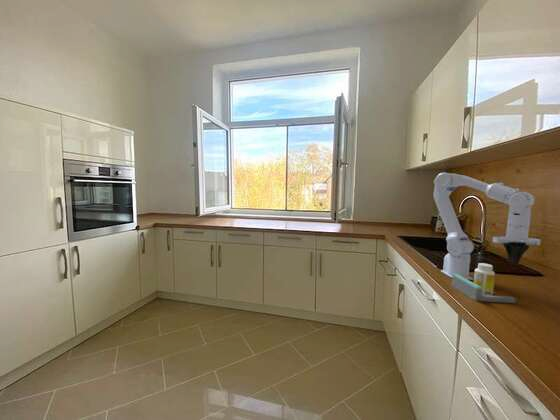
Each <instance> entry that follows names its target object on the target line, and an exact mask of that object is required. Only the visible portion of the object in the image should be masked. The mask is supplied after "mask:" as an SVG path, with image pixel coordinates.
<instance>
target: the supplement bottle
mask: <svg viewBox="0 0 560 420" xmlns="http://www.w3.org/2000/svg"><path fill="white" fill-rule="evenodd" d="M493 269H494V267H493V265H492V264H489V263H484V262H482V263H481V262H479V263H477V268H475V269H474V274H473V275H474V276H473V283H475V284H476V285H478V286H480V287H482V288H481V295H492V296H493V294H494V288H495V287H494V286H495V280H496V279H495V278H496V277H495V276H496V273H495V271H494V270H493Z"/></svg>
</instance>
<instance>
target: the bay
mask: <svg viewBox="0 0 560 420" xmlns="http://www.w3.org/2000/svg"><path fill="white" fill-rule="evenodd" d="M451 287H453V288H454V289H456V290H458V291H459V292H461V293H463V294H464V295H465V296H467V297H469V298H470V299H472V300H474V301H475V302H491V303H507V304H515V303H516V297H513V296H505V295H493V294H492V295H481V288H482V287H480V286H478V285H476V284H475V283H474V281H472V280H467V279H465V278H463V277H462V276H460V275H458V274H453V275H452V278H451Z"/></svg>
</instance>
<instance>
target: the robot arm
mask: <svg viewBox="0 0 560 420" xmlns="http://www.w3.org/2000/svg"><path fill="white" fill-rule="evenodd" d="M433 184H434V188H433V195H432V197H433V199H434V201H435V206H436V207H437V209H438V210H437V211H438V212H439V215H440V218H441V220H442V222H443V225H444V228H445V230H446V233H447V236H446V238H445V241H446V250H447V252H448V253H447V254H446V255H444V257H443V267H442V270H440V272H441V273H443V274H444V275H446V276H447V277H449V278H451V279H452V275H453V274H458V275H460V276H462V277H463V278H465V279H467V280H469V281H474V277H472V276H470V275H469V274H470V273H469V271H470V264H471V253H472V252H473V251H474V249H475V245H474V242H472V241H471V240H470V239H469V237H468V235H467V234H466V233H465V232H464V231H463V229H462V227H461V224H460V222H459V219H458V217H457V214H456V212H455V209H454V207H453V204H452V201H451V199H450V195H451V194H452V192H454V191H455V190H456V189H457V188H458V187H463V186H465V187H468V188H471V189H474V190H476V191H477V190H478V191H480V192H483V193H484V194H485V195H486V197H487V198H490V199H492V200H495V201H498V202H501V203H503V204H505V205H508V206H509V207H508V208H509V211H508V213H507V214H508V215H507V225H506V232H505V233H506V235H505V236H492V243H496V244H502V246H503V247H504V249H505V251H506V253H507V257H508V262H509V264H513V265H519V263H520V261H521V259H522V256H523V255H524V254H525V253H526V251H528V250H529V249H530V245H535V246H540V245H541V241H542V239H539V238H532V237H531V238H530V237H529V231H530V223H531V215H532V214H531V212H532V207H533V205H534V204H535V200H536V199H535V196H534V195H532V194H531V193H529V192H528V191H520V189H519V188H517V187H516V188H513V187H509V186H506V185H505V183H503V182H498V183H497V182H494V183H491V184H489V183H487V182H484V181H481V180H478V179H475V178H472V177H470V176H467V175H462V174H457V173H449V172H441V173H438V174H437V176H436V177H435V179H434V180H433Z"/></svg>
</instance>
